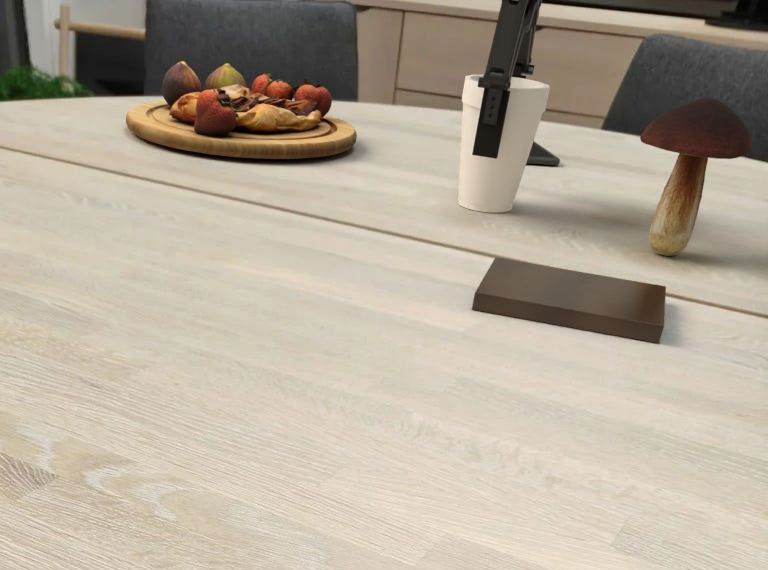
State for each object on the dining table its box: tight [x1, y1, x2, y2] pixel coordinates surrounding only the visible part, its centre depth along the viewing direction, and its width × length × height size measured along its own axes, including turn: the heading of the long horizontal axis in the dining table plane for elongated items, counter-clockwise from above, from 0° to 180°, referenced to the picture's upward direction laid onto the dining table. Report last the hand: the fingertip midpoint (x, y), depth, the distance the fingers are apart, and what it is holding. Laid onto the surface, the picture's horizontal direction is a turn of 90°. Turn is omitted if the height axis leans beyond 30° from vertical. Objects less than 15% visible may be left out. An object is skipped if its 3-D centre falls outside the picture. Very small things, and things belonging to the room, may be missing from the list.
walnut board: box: [471, 257, 667, 344], centre depth 89 cm, size 16×12×2 cm
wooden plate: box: [125, 60, 358, 160], centre depth 136 cm, size 32×32×8 cm
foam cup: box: [457, 74, 551, 214], centre depth 114 cm, size 10×9×13 cm
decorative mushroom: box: [639, 97, 754, 257], centre depth 102 cm, size 11×11×15 cm
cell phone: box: [526, 140, 561, 166], centre depth 145 cm, size 7×14×1 cm, turn 6°
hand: (493, 146), depth 114 cm, fingers open, 13 cm apart
